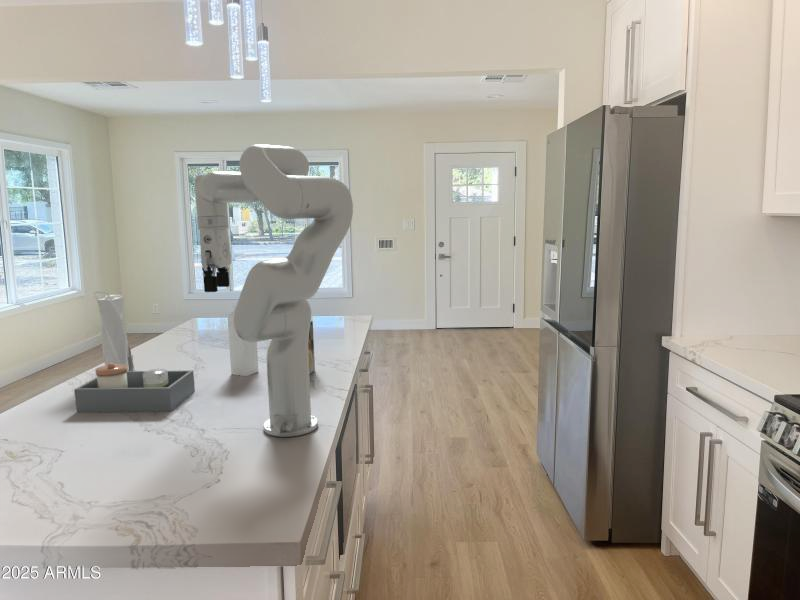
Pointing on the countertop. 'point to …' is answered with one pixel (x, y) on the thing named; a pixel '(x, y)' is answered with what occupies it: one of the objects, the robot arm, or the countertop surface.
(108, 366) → the lidded jar
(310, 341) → the coffee box
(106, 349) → the skyscraper
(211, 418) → the countertop surface
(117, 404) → the tote
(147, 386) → the grey green cylinder
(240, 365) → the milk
